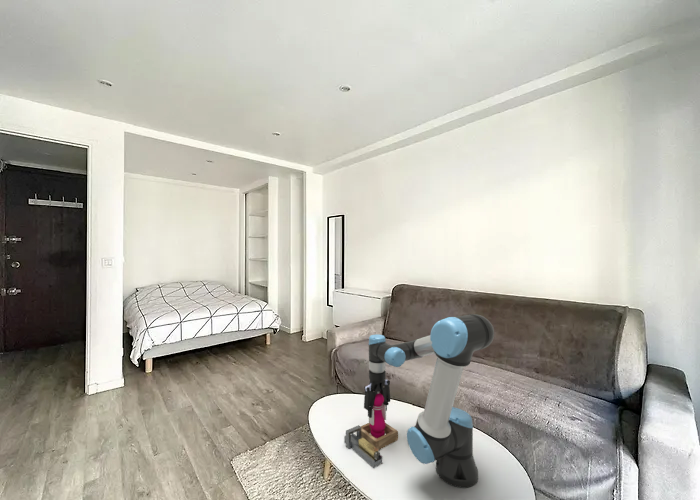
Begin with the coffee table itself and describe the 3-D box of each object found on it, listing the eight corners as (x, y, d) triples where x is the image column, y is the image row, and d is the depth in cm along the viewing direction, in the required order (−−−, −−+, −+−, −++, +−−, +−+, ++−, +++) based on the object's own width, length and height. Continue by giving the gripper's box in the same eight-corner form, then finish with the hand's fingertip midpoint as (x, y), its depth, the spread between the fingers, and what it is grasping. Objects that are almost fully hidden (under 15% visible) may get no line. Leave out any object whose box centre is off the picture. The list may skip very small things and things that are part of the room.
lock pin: (380, 458, 121) (380, 450, 121) (375, 461, 119) (374, 453, 119) (363, 444, 130) (363, 437, 130) (358, 447, 128) (358, 439, 128)
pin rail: (384, 462, 122) (384, 444, 122) (371, 469, 118) (371, 451, 118) (354, 437, 138) (354, 422, 138) (342, 443, 134) (341, 427, 134)
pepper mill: (372, 440, 133) (372, 394, 133) (367, 431, 140) (367, 387, 140) (388, 437, 135) (387, 392, 135) (382, 428, 142) (381, 385, 142)
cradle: (398, 440, 136) (398, 431, 136) (376, 451, 129) (376, 441, 129) (378, 426, 147) (378, 418, 147) (357, 436, 139) (357, 427, 139)
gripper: (387, 362, 147) (387, 411, 146) (355, 372, 135) (355, 424, 135) (398, 367, 140) (398, 417, 140) (365, 377, 129) (366, 432, 129)
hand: (377, 421), depth 138 cm, fingers closed on pepper mill, 6 cm apart
